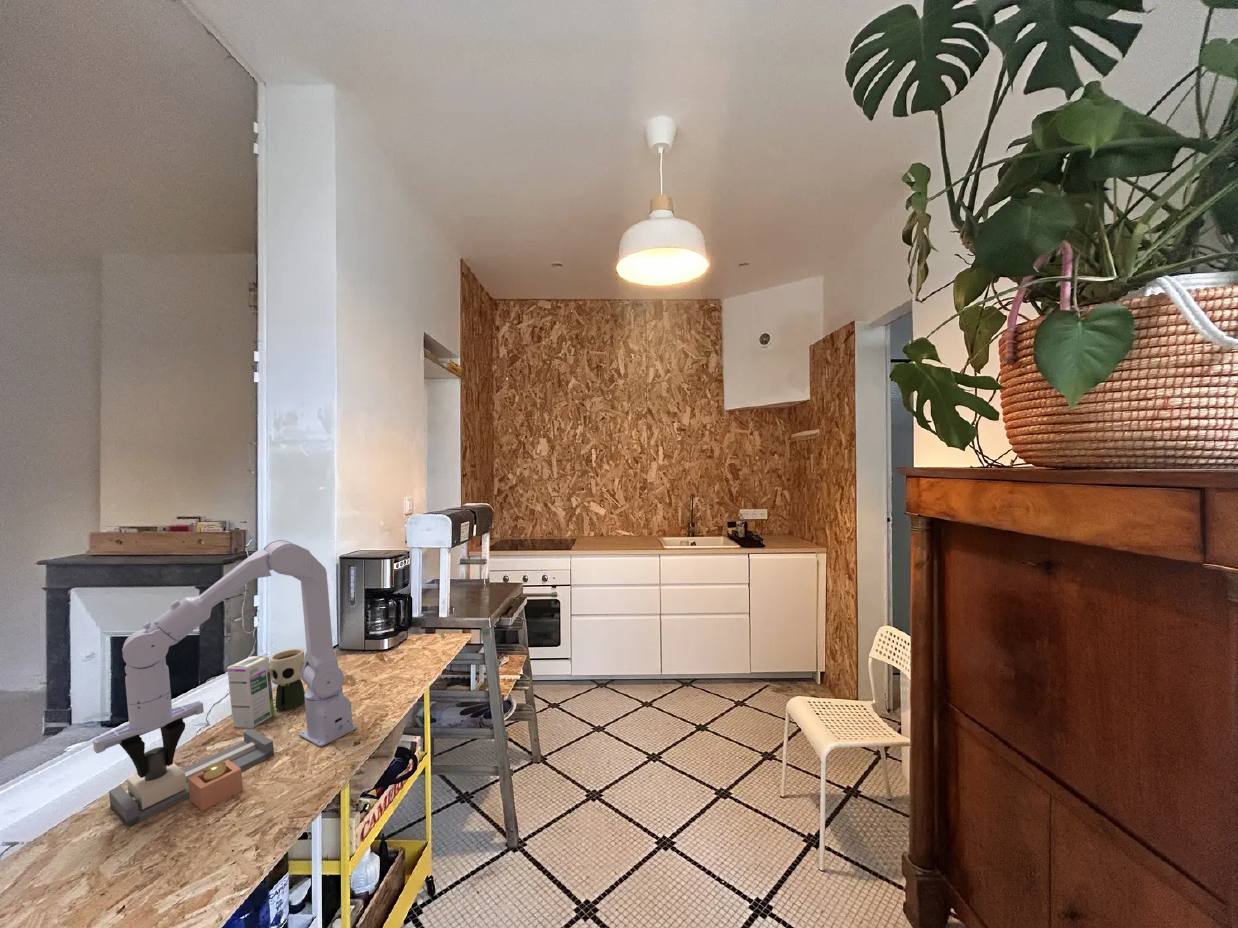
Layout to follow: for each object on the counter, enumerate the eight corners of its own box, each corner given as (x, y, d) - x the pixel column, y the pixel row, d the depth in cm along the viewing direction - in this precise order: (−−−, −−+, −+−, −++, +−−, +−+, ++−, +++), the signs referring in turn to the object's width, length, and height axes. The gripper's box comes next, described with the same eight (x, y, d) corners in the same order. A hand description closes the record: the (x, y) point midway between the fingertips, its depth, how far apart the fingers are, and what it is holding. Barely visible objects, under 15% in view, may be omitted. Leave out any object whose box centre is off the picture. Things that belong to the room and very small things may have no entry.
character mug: (258, 715, 118) (254, 662, 118) (276, 700, 125) (273, 650, 125) (305, 710, 119) (301, 658, 119) (321, 696, 126) (317, 646, 126)
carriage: (186, 788, 90) (183, 748, 90) (142, 809, 85) (138, 767, 85) (171, 774, 95) (168, 737, 94) (128, 794, 89) (124, 754, 89)
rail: (274, 754, 101) (272, 740, 101) (127, 827, 83) (125, 810, 83) (252, 741, 107) (251, 728, 107) (110, 807, 88) (109, 790, 88)
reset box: (243, 789, 91) (241, 768, 91) (202, 810, 86) (200, 788, 86) (229, 779, 94) (227, 759, 94) (189, 799, 89) (187, 777, 89)
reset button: (229, 780, 90) (228, 764, 90) (208, 791, 88) (206, 774, 88) (222, 774, 92) (221, 759, 92) (201, 785, 89) (200, 769, 89)
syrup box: (252, 728, 112) (247, 666, 112) (231, 727, 113) (226, 665, 113) (275, 715, 118) (270, 655, 117) (254, 714, 119) (249, 655, 118)
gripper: (191, 675, 98) (197, 742, 98) (85, 710, 85) (92, 786, 86) (205, 682, 94) (211, 752, 94) (96, 720, 82) (104, 799, 82)
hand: (155, 769), depth 90 cm, fingers closed on carriage, 3 cm apart
